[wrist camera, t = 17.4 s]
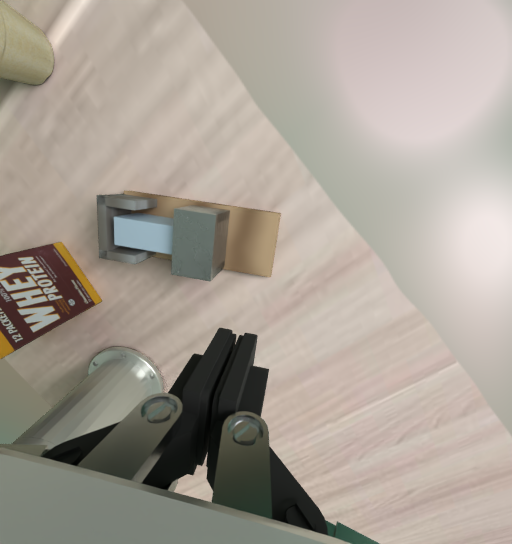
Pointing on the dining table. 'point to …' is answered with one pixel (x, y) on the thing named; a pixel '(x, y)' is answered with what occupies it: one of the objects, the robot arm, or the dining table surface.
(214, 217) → the grey concrete block
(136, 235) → the light blue block
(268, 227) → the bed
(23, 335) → the supplement box
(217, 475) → the robot arm
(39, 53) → the flower pot
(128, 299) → the dining table surface
